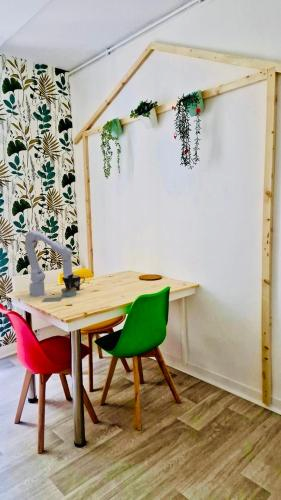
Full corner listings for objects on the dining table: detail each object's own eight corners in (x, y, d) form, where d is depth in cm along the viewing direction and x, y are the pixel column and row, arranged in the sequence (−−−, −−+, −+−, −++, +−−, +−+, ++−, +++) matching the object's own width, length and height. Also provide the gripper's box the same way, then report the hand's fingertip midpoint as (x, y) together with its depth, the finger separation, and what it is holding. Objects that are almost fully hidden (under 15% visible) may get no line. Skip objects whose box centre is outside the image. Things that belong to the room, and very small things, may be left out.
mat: (41, 302, 210) (41, 302, 210) (45, 298, 220) (45, 297, 220) (60, 301, 211) (60, 301, 211) (63, 297, 220) (63, 297, 220)
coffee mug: (68, 292, 235) (67, 278, 234) (69, 289, 244) (68, 275, 242) (85, 290, 237) (84, 276, 236) (85, 287, 246) (84, 274, 245)
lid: (60, 292, 220) (59, 284, 219) (62, 289, 229) (61, 281, 229) (75, 291, 221) (75, 283, 220) (76, 288, 231) (76, 280, 230)
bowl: (61, 297, 221) (60, 292, 220) (63, 294, 230) (63, 289, 229) (74, 296, 221) (74, 291, 221) (77, 293, 230) (76, 288, 230)
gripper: (71, 268, 216) (72, 288, 218) (75, 264, 230) (76, 283, 232) (60, 268, 216) (61, 289, 217) (64, 264, 230) (66, 284, 232)
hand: (68, 286), depth 225 cm, fingers open, 7 cm apart
